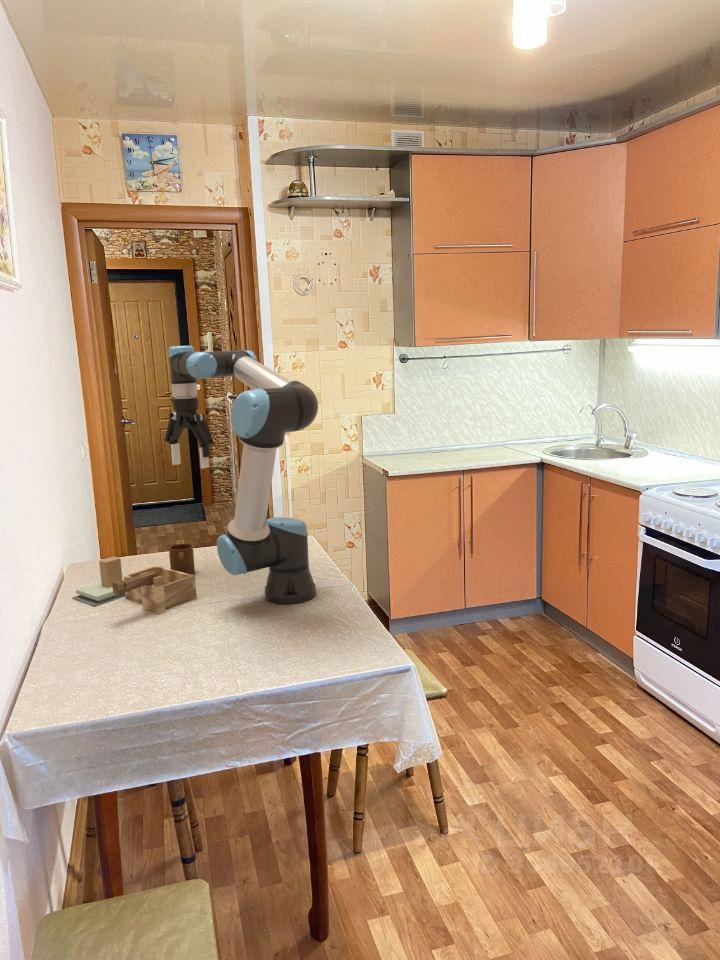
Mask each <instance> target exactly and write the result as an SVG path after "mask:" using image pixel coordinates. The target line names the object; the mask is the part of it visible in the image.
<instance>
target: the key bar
mask: <svg viewBox="0 0 720 960" xmlns="http://www.w3.org/2000/svg"><path fill="white" fill-rule="evenodd" d="M155 577H157V574H156V573H155V572H148V573H145V574H142V575H139V576H136V577H133V578H129V579H126V580H123V581H120V582H118V581H115V582H112V586H113V593H115V594H118V595H123V594H125V592H127V591H130V590H133V589H136V588H139V587H142V586H145V585H148V584H151V583H153V578H155Z"/></svg>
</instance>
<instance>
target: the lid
mask: <svg viewBox="0 0 720 960" xmlns="http://www.w3.org/2000/svg"><path fill="white" fill-rule="evenodd" d="M98 563H99V571H100V580H101V581H99V582H95V583H92V584H89V585H85V586H83V587H80V588H77V589H75V594H77V595H82V596H84V597H87V598H90V599H93V600H96V601H99V602H101V601H103V600H106V599H109V598H112V597H115V596H118V594H115V593H113V586H112V582H115V581H118V582H120V581H123V580H124V578H123V576H126V575H129V573H124V574H123V571H122V561H121V558H120V557H117V556H110V557H108V558H107V557H106V558H104V559H101V560H99V561H98Z"/></svg>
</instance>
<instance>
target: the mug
mask: <svg viewBox="0 0 720 960" xmlns="http://www.w3.org/2000/svg"><path fill="white" fill-rule="evenodd" d="M168 552H169V553H168V555H169V565H170V569H172V570H175V571H179V572H183V573H187V574H191V575H194V574H195V556H194V548H193V545H192V544H191V543H178V544H173V545H171V546H169V549H168Z"/></svg>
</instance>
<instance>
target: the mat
mask: <svg viewBox="0 0 720 960" xmlns="http://www.w3.org/2000/svg"><path fill="white" fill-rule="evenodd" d="M121 598H125V594H123V595H118V596H115V597H112V598H109V599H106V600H103V601H101V602H99V601H96V600H93V599H90V598H87V597H84V596H82V595H79V594H77V595H75V596H72V597H71V599H72V600H75V601H78V602H80V603H83V604H85V605H89V606H92V607H94V608H95V607H98V606H101V605H103V604H107V603H110V602H112V601H115V599H116V600H118V599H121Z"/></svg>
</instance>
